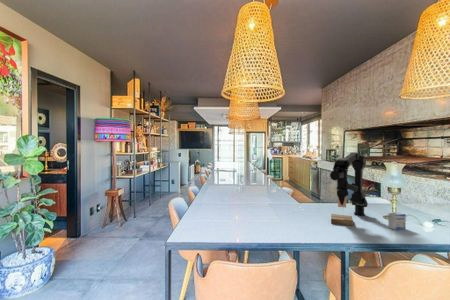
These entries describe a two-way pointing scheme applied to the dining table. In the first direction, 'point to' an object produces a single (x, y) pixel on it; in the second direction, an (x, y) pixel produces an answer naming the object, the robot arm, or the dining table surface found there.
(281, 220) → the dining table surface
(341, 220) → the walnut base
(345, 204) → the terracotta block
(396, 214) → the medicine box
